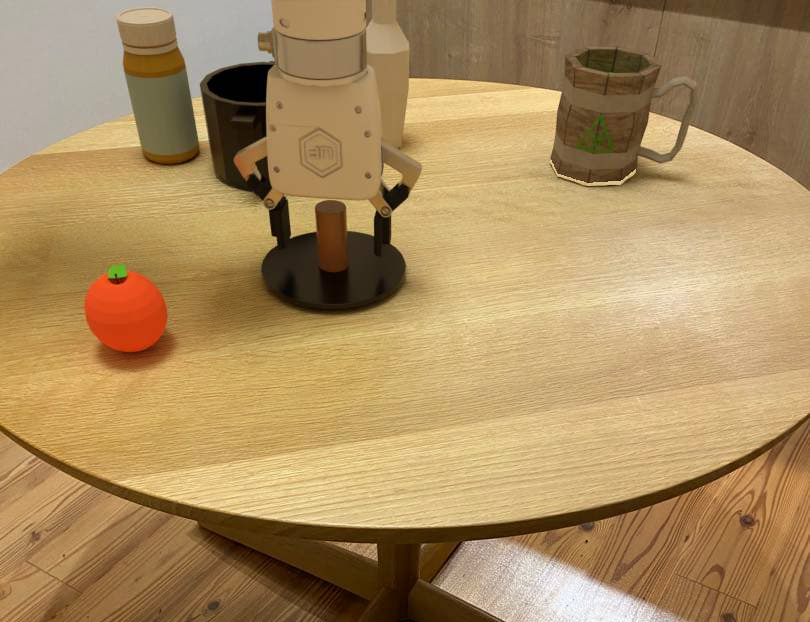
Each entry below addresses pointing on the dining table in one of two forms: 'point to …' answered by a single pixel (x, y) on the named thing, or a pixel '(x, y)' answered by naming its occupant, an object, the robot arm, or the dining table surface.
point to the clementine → (125, 310)
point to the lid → (332, 265)
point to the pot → (235, 116)
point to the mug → (610, 113)
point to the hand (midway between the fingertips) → (332, 246)
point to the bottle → (158, 85)
